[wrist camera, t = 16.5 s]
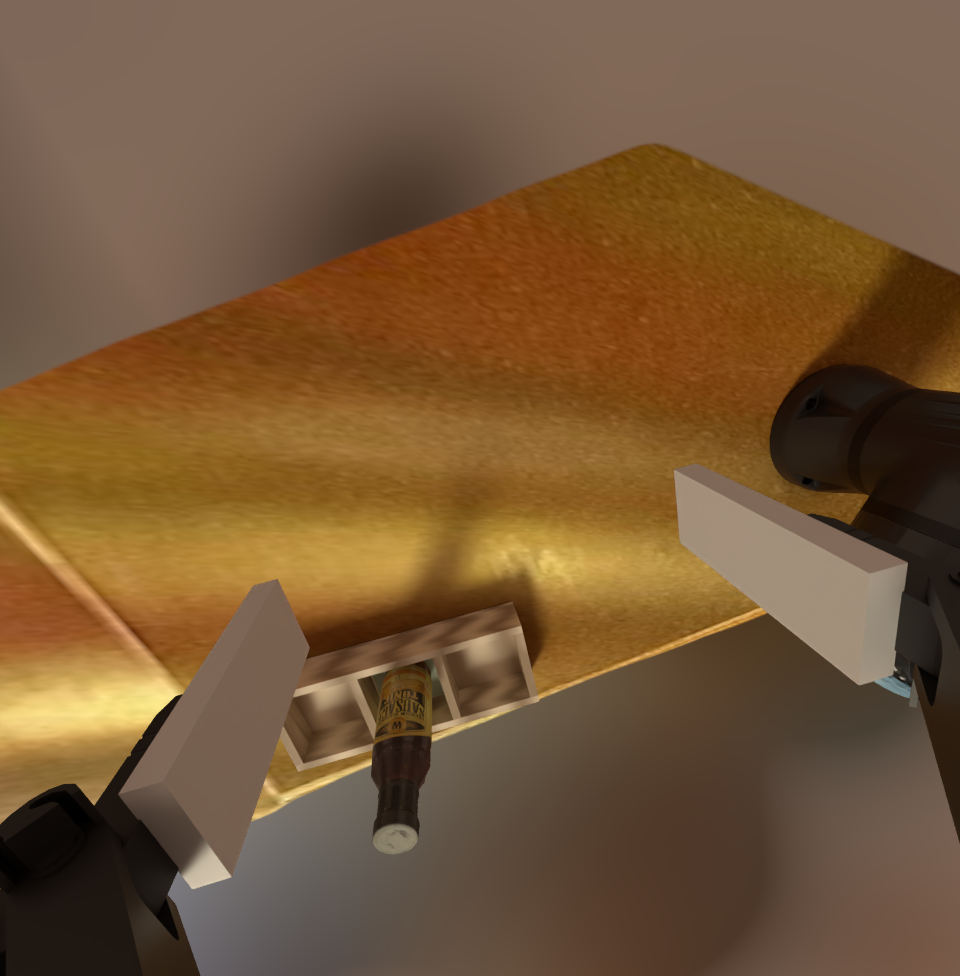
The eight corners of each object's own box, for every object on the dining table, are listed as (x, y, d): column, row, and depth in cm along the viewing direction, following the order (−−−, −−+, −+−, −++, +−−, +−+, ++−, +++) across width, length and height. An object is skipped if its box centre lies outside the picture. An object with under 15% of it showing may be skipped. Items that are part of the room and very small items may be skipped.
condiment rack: (512, 601, 56) (521, 625, 52) (529, 672, 60) (539, 701, 56) (272, 668, 55) (259, 699, 50) (307, 736, 59) (298, 771, 54)
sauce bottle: (427, 650, 56) (433, 806, 38) (434, 688, 58) (443, 853, 40) (376, 659, 56) (355, 823, 37) (385, 697, 58) (370, 869, 39)
